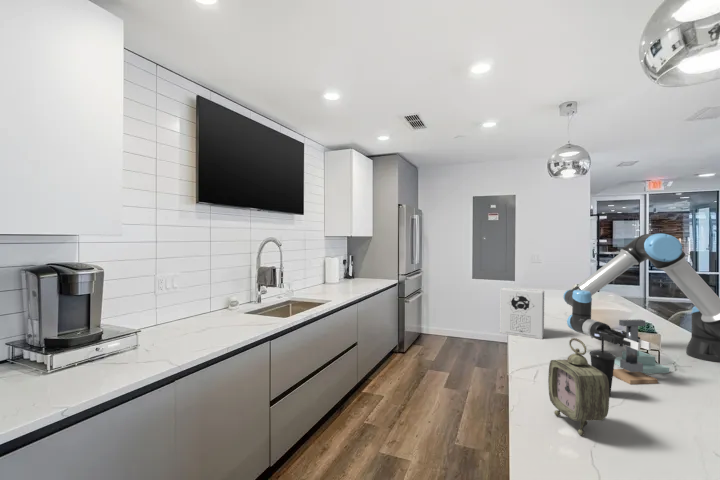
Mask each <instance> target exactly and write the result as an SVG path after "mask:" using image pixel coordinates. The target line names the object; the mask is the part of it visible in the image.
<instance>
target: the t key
mask: <svg viewBox="0 0 720 480" xmlns="http://www.w3.org/2000/svg"><path fill="white" fill-rule="evenodd" d="M618 322H619V323H618V325H619V326H622V327H625V328H626V329H625V330H626V331H625V332H626V338H627V339H630V340H632V341H635V342H638V337H639V327H645V326H646V320H644V319H619V320H618ZM625 351H626V359H621V360H620V366H619V368H620V369H625V370H628V371H630V372H643V363H640V362H638V361H637V357H638V351H639V350H636V349H633V348H630V347H627V346H625Z"/></svg>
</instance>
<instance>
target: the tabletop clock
mask: <svg viewBox="0 0 720 480" xmlns="http://www.w3.org/2000/svg"><path fill="white" fill-rule="evenodd" d="M573 341H575V342H579V344H581V345H582V347H583V348H584V352H581V350H580V348H577V347H576V348H574V347H573V346H572V342H573ZM568 344H569V347H570V349H571V351H572V352H574V353H573V354H570V355H569V356H568V357H567V358H566V359H551V360H550V362H549V365H548V366H549V367H548V381H547V382H548V395H549V400H550V402H551V404H552V405H553V406H554V408H556V410H554V411H553V413H554V415H555V417H560V416H561V414H562V415H564V416H566V417H567V418H568V419H570V420H571V421H574V422H580V428H579V429H578V430H577V433H578V435H579V436H582V437H583V436H585V434H586V433H585V430H584V426H587V425H588V422H589V421H603V420H605V419H606V417H607V416H608V414H609V408H610V407H609V406H610V396H609V382H608V378H607V376H606V375H605V374H604V373H603V372H602V371H600V370H598V369H596V368H595V367H593V366H591V364H589V363H588V359H587V358H586V357H585V356H584V355H585V354H587V346H586V345H585V343H584V342H583V341H582V340H581V339H579V338H575V337H573V338H570V339H569V343H568Z"/></svg>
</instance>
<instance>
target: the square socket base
mask: <svg viewBox="0 0 720 480" xmlns="http://www.w3.org/2000/svg"><path fill="white" fill-rule="evenodd" d="M621 359H626V350H622V352H621V356H616V359H615V363H614V365H617V366H619V367H620V360H621ZM637 361H638V362H640V363H643V372H642V373H644V374H663V373H664V374H665V373H666V374H667V373H668V374H669V373H670V367H669V366H666V365H664V364H661V363H658V362H656V356H655V355H652V354H650V353H646V352H644V351H642V350H638V357H637Z"/></svg>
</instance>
